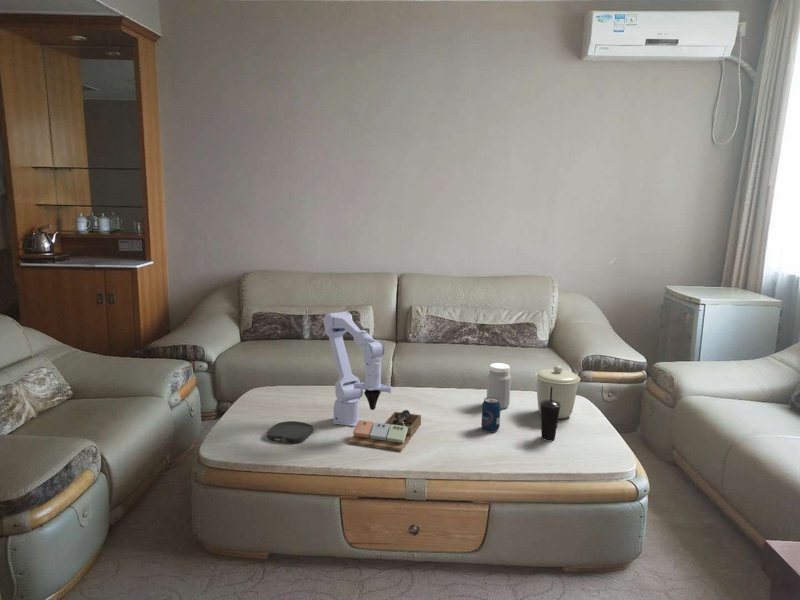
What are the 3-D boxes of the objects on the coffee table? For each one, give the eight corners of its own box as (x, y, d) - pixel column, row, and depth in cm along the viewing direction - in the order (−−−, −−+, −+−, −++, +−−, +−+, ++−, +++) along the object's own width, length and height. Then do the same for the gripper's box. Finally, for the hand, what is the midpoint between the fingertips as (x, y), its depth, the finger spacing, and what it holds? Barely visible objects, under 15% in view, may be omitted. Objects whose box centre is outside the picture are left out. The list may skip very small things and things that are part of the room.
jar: (492, 400, 265) (494, 360, 261) (513, 405, 259) (515, 365, 256) (482, 406, 257) (484, 365, 254) (503, 411, 251) (505, 370, 248)
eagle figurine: (412, 429, 228) (414, 417, 236) (402, 415, 226) (404, 403, 234) (395, 438, 230) (398, 425, 238) (385, 424, 228) (388, 411, 236)
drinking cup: (559, 435, 227) (563, 385, 224) (557, 443, 220) (561, 391, 217) (538, 432, 230) (542, 382, 226) (536, 440, 223) (539, 389, 219)
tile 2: (370, 438, 218) (369, 434, 217) (375, 425, 223) (374, 421, 221) (386, 440, 216) (385, 436, 215) (390, 427, 221) (390, 423, 219)
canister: (574, 408, 256) (578, 361, 253) (579, 424, 239) (583, 373, 235) (531, 405, 259) (534, 358, 256) (533, 420, 242) (536, 370, 238)
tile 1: (353, 435, 220) (352, 431, 219) (359, 423, 224) (358, 419, 223) (369, 438, 218) (368, 434, 217) (374, 425, 223) (373, 421, 221)
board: (348, 443, 217) (348, 433, 216) (373, 418, 241) (373, 408, 241) (401, 451, 211) (401, 441, 210) (421, 424, 235) (421, 415, 235)
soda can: (477, 429, 232) (479, 399, 230) (487, 424, 237) (489, 395, 235) (492, 434, 228) (494, 404, 225) (502, 429, 233) (504, 399, 230)
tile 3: (387, 441, 216) (386, 437, 215) (392, 427, 221) (391, 424, 219) (403, 443, 215) (402, 439, 213) (407, 429, 219) (406, 426, 218)
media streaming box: (316, 430, 229) (316, 423, 228) (299, 446, 215) (299, 438, 214) (281, 426, 233) (281, 418, 232) (263, 440, 219) (263, 433, 218)
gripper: (350, 374, 219) (350, 410, 221) (388, 379, 214) (387, 415, 217) (357, 369, 225) (357, 403, 228) (394, 373, 221) (393, 408, 223)
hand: (372, 408), depth 223 cm, fingers closed
